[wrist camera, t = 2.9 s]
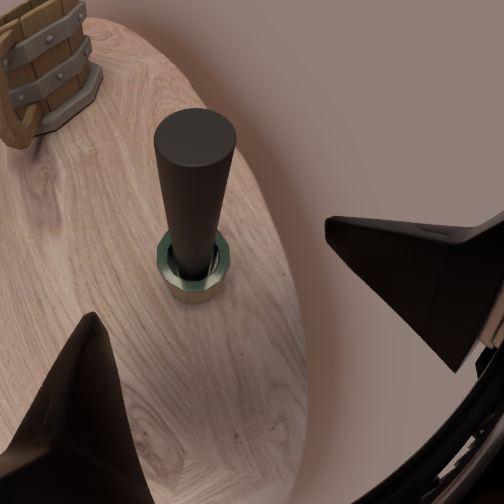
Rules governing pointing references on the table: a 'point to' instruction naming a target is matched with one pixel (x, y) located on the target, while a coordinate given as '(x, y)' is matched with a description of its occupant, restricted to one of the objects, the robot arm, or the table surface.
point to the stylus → (193, 183)
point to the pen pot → (193, 289)
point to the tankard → (43, 68)
